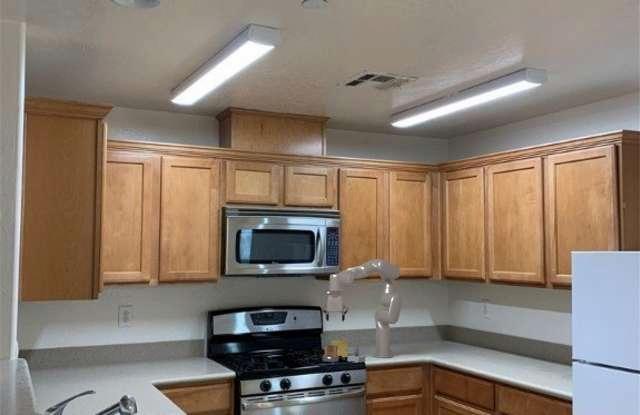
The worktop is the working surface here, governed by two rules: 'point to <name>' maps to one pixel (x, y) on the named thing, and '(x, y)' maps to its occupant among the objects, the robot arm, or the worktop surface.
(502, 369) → the worktop surface
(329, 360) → the hub
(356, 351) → the stand
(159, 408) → the worktop surface
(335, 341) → the cheese
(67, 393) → the worktop surface
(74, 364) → the worktop surface
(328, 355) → the brown box
